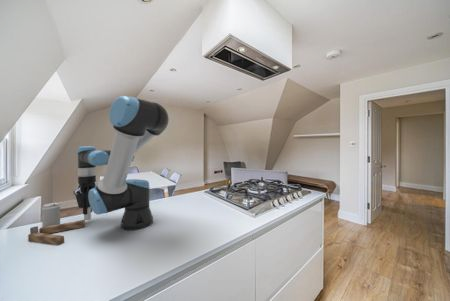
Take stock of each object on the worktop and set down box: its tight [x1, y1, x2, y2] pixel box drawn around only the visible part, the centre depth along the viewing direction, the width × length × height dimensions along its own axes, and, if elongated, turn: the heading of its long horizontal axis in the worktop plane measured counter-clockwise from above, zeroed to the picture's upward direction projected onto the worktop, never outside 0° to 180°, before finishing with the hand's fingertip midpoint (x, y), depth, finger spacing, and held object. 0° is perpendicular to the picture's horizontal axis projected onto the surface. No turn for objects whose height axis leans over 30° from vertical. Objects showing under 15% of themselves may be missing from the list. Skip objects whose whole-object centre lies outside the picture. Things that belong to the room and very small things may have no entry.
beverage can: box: [41, 202, 61, 227], centre depth 89 cm, size 6×6×12 cm
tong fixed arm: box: [27, 225, 65, 246], centre depth 77 cm, size 19×4×4 cm, turn 79°
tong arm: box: [38, 219, 86, 234], centre depth 86 cm, size 16×2×3 cm, turn 124°
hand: (87, 219), depth 96 cm, fingers closed
